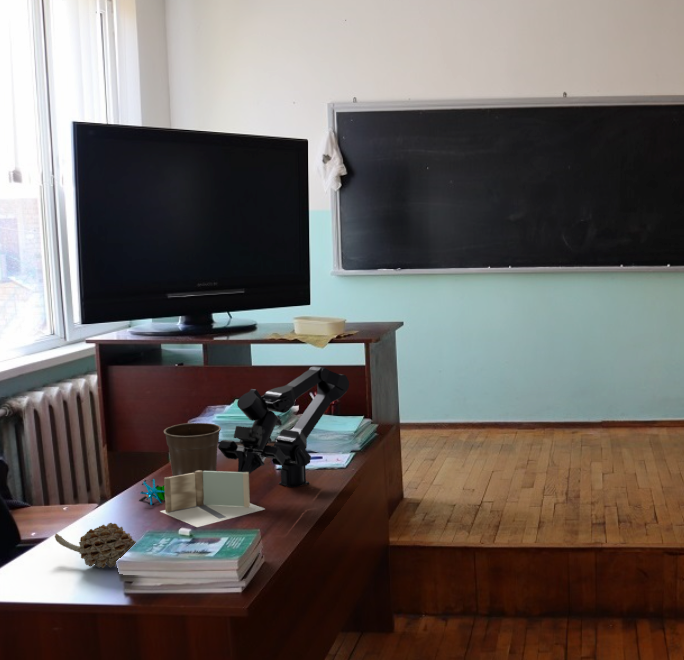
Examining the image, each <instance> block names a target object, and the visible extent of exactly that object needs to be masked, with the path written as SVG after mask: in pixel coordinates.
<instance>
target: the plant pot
mask: <svg viewBox="0 0 684 660" xmlns="http://www.w3.org/2000/svg"><path fill="white" fill-rule="evenodd" d="M221 430H222V427H221V426H220V425H219V424H214V423H208V422H189V423H188V422H187V423H180V424H175V425H172V426H169V427H166V428H165V429H164V430H163V434H164V435H165V439H166V445H167V446H168V452H169V460H170V467H171V473H172V476H178V475H183V474H189V473H195V471H198V470H201V471H217V463H218V462H217V461H218V446H219V444H218V443H220V432H221ZM195 488H196V486H195Z"/></svg>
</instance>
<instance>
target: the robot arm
mask: <svg viewBox="0 0 684 660" xmlns="http://www.w3.org/2000/svg"><path fill="white" fill-rule="evenodd" d="M316 385H317V393H316V395H315V396H314V397H313V399H312V400H311V401H310V403H309V405H308V406H307V408H306V409H305V410H304V411H303V414H301V416H300V417H299V419H298V420H297V421H296V423H295V424H294V426H293V428H291V429H285V428H283V429H282V430H281V431H280V432H279V435H278V436H277V437H275V442H274V444H273V445H270V444H271V443H272V440H273V439H272V438H271V436H272V434H273V432H274V430H275V427H276V426H279V427H280V426H282V425H283V424H282V420H281V418H280V415H276V413H282V414H286V413H288V412H289V411H290V410H291V409H292V408H293V407H294V406H295V404H296V400H297V399H298V398H299V397H301V396H302V395H304V394H306V393H307V392H308V391H309V390H311V389H312V388H314V387H315V386H316ZM349 388H350V381H349V379H348V376H347V375H346V374H341V373H337V372H334V371H332V370H330V369H328V368H326V367H324V366H316V365H315V366H314V365H313V366H311V367H309V369H307V370H306V371H305V372H303V373H302V374H301V375H299V376H297V377H295V378H294V379H293V380H291V381H290V382H289V383H287V384H285V385H282V386H278V387H274V388H272V389H269V390H267V391H266V392H265V393H264V394H263V395H261V394H260V392H259V391H258V390H257V389H253V388H250V390H249V391H248V392H246V393H244V394H243V395H241V396H240V397H239V398H238V400H237V402H236V404H237V408H239V410H240V411H241V412H242V413H243V414H244V415H245V416H246V417H247V418H248V419H249V420H250V421H253V424H252V425H251V426H240V425H236V426H235V430H234V433H233V438H234V439H238V440H239V444H241V445H238V444H237V443H236V442H235V440H228V439H223V440H220V441H219V444H218V445H217V449H218V450H220V451H219V452H221V454H222V455H223V456H224V457H225V458H226V459H229V460H236V461H237V460H238V461H237V462H238V465H237V466H238V467H237V472H249V475H250V474H251V473H253V472H254V471H256V470H257V469H259V468H260V467H263V466H265V459H269V458H270V459H272V460H271V461H272V464H273V465H275V466H280V467H281V469H280V481H279V482H278V485H281V486H284V487H287V488H298V487H302V486H306V485H309V484H310V481H308V480H307V479H306V478H307V476H306V475H307V473H306V469H307V467H306V466H308V465H309V464H310V463H311V459H312V456H311V454H310V453H308V451H307V447H308V444H307V442H308V441H307V439H308V437H309V436H310V434H311V433H312V431H313V430H314V428H315V427H316V426H317V424H318V423H319V421H320V420H321V418H322V417H323V416H324V415H325V413H326V411H327V410H328V408H329V407H330V405H331V404H332V403H333V402H335V401H337V400H339V399H341V398H342V397H343V396H345V394H346V393H347V391H348V390H349Z"/></svg>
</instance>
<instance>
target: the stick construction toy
mask: <svg viewBox="0 0 684 660" xmlns="http://www.w3.org/2000/svg"><path fill="white" fill-rule="evenodd" d="M142 482H143V483H142V484H141V485H142V486H145V487H146V490H147V491H140V492H139V494H140V495H144V496H143V497H141V498H140V499H139V500H138V502H143V501H145V500H147V501H148V500H149V502H150V503H149V504H150V506H154V503H153V498H154V499H156V500H157V501H158V502H159V503H160V504H163V502H162V501H165V489H164V484H163V485H162V486H161V485H158V484H157V485H156V480H155V478H152V480H151V482H152V487H151V486H150V485H149V484H147V480H146V479H145V480H143V481H142Z"/></svg>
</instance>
